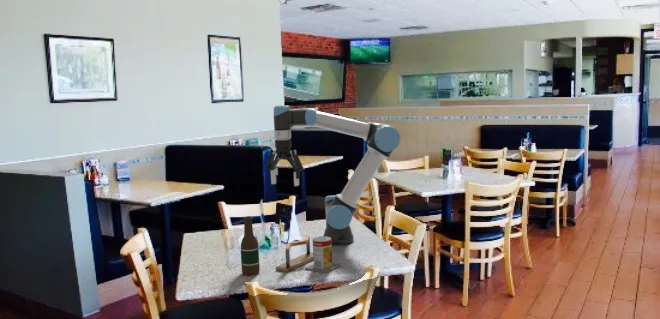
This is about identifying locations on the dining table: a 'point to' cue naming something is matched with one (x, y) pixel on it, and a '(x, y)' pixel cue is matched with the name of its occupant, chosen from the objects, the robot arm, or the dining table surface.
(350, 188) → the robot arm
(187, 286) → the dining table surface
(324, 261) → the canned food
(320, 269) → the charcoal mat
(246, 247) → the beer bottle
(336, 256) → the dining table surface
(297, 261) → the wooden frame rack
